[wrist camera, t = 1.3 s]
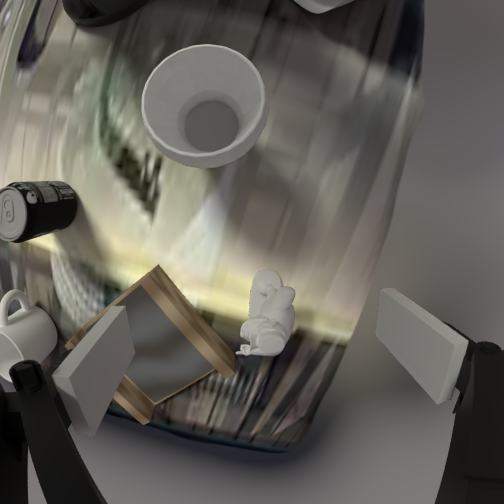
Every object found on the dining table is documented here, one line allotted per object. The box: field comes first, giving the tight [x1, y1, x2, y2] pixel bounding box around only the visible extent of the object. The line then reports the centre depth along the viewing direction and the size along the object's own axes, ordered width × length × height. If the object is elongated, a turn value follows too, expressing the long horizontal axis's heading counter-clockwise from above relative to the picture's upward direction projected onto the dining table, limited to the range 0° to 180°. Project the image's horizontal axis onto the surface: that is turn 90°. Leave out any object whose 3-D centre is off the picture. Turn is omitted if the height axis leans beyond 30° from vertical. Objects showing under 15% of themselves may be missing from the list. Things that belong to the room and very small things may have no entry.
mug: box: [0, 290, 57, 383], centre depth 34 cm, size 12×8×10 cm
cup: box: [142, 44, 269, 169], centre depth 28 cm, size 11×11×15 cm
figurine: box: [236, 269, 295, 356], centre depth 35 cm, size 9×7×12 cm
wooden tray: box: [65, 264, 235, 425], centre depth 38 cm, size 16×17×5 cm
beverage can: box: [0, 181, 77, 243], centre depth 30 cm, size 7×7×12 cm
